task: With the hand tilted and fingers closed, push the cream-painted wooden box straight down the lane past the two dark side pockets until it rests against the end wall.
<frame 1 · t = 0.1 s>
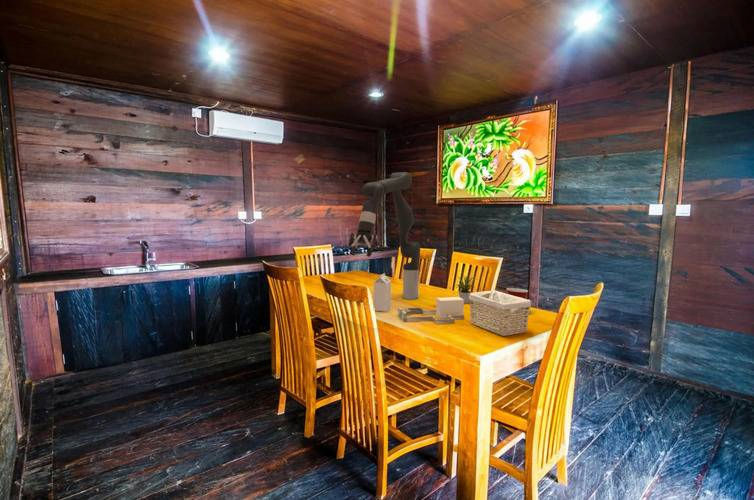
hand: (360, 255, 180), 31 cm above the table, tool tilted 20°, fingers open, 8 cm apart
cream box: (449, 316, 194), on the table
house plant: (466, 302, 222), on the table
milk carton: (382, 310, 205), on the table
storage basket: (497, 328, 176), on the table
trap lane: (430, 317, 192), on the table
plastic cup: (516, 311, 204), on the table
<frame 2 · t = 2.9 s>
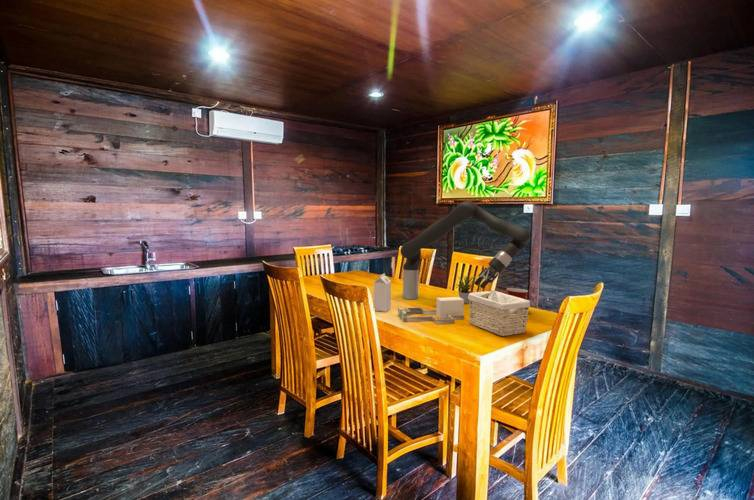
hand: (478, 286, 193), 15 cm above the table, tool tilted 40°, fingers open, 8 cm apart
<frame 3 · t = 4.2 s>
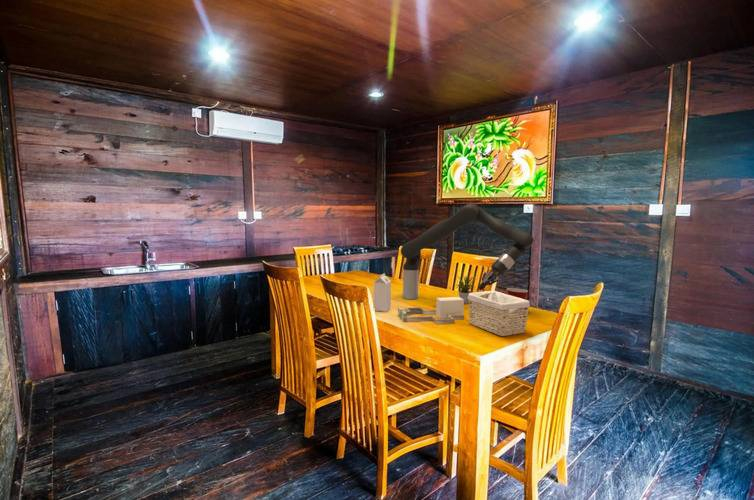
hand: (479, 289, 196), 13 cm above the table, tool tilted 45°, fingers closed
nothing on the table moved.
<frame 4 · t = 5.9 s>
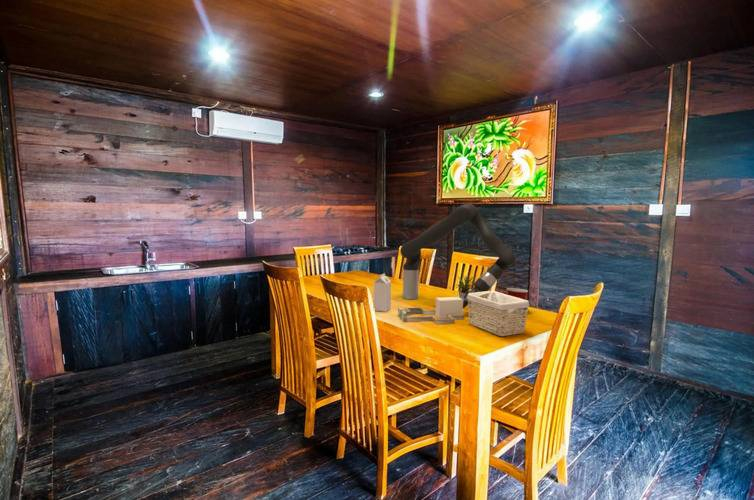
hand: (461, 307, 195), 4 cm above the table, tool tilted 45°, fingers closed
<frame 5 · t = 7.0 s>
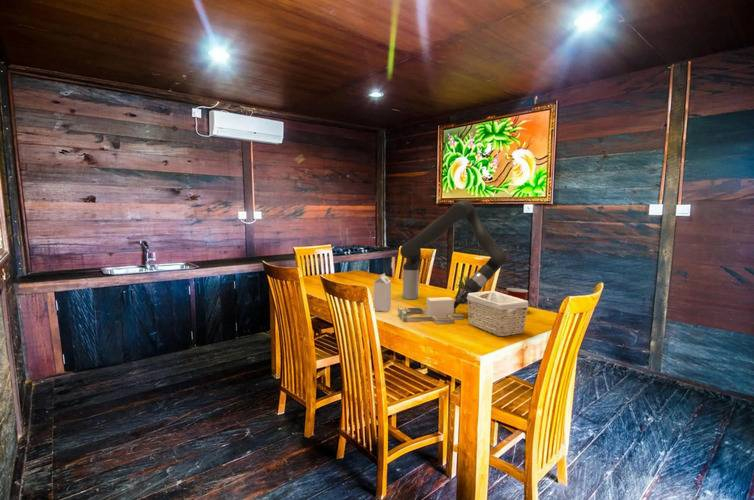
hand: (452, 307, 194), 4 cm above the table, tool tilted 45°, fingers closed
cream box: (439, 316, 193), on the table, touching gripper
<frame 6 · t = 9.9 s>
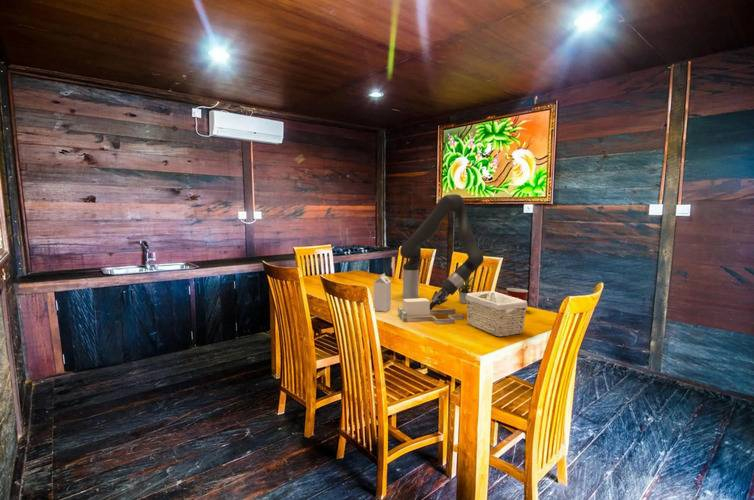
hand: (428, 308, 192), 4 cm above the table, tool tilted 45°, fingers closed
cream box: (415, 317, 191), on the table, touching gripper, trap lane
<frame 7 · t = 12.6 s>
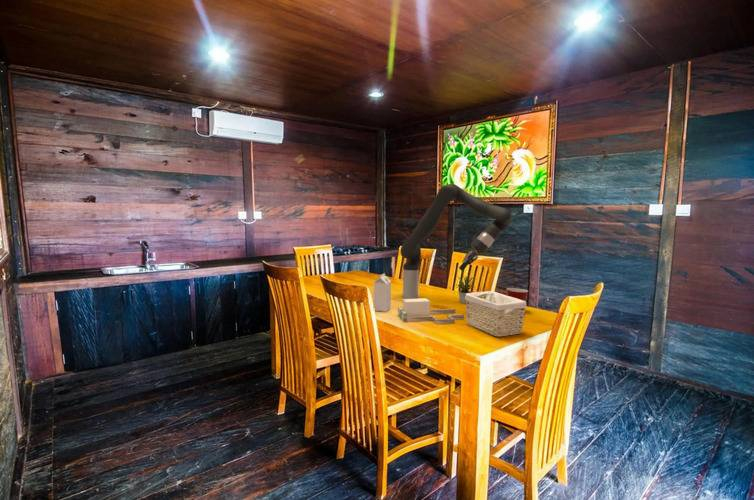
hand: (460, 269, 194), 23 cm above the table, tool tilted 40°, fingers closed
cream box: (415, 318, 191), on the table
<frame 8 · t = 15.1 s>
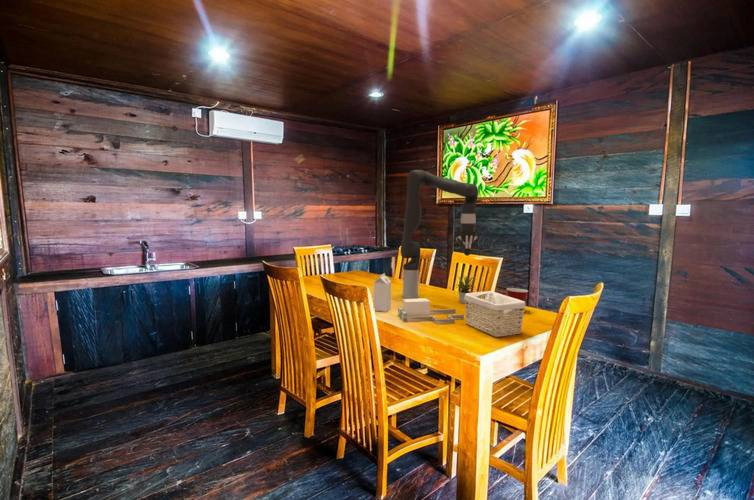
hand: (467, 255, 204), 29 cm above the table, tool pointing down, fingers closed
at the end: cream box inside the target area (0.3 cm from its centre), on the table; cream box tilted 0° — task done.
